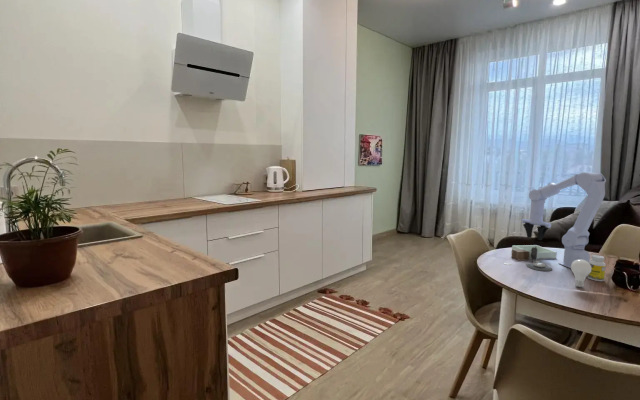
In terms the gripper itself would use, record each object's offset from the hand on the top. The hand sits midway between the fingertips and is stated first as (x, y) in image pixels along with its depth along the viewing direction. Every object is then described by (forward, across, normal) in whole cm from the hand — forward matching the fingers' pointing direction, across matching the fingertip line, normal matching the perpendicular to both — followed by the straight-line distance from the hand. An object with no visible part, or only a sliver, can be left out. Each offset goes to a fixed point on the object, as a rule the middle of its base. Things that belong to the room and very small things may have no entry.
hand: (534, 238), depth 177 cm
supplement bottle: (+9, -35, +9) cm, 37 cm away
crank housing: (+9, -16, +17) cm, 25 cm away
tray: (+9, 0, 0) cm, 9 cm away
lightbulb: (+9, -39, +26) cm, 47 cm away
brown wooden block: (+7, -3, +10) cm, 12 cm away
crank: (+9, -16, +17) cm, 25 cm away
